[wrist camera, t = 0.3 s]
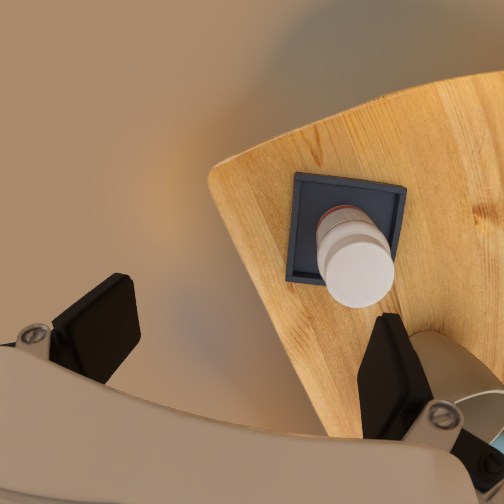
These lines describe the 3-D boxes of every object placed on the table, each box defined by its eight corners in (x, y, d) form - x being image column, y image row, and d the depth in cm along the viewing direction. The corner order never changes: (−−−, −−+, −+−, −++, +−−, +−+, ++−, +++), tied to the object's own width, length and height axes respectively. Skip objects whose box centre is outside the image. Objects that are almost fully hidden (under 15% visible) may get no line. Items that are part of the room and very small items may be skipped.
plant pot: (483, 321, 30) (535, 397, 16) (426, 395, 36) (448, 477, 21) (407, 287, 31) (456, 380, 16) (349, 375, 37) (355, 473, 22)
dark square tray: (295, 171, 29) (294, 173, 27) (401, 185, 27) (407, 188, 26) (286, 274, 33) (285, 281, 31) (383, 284, 31) (386, 292, 30)
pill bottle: (367, 262, 31) (390, 318, 20) (312, 256, 32) (312, 311, 21) (376, 207, 28) (410, 241, 18) (318, 200, 29) (324, 230, 19)
